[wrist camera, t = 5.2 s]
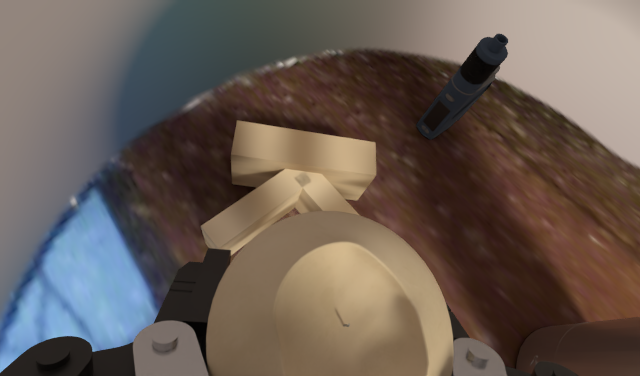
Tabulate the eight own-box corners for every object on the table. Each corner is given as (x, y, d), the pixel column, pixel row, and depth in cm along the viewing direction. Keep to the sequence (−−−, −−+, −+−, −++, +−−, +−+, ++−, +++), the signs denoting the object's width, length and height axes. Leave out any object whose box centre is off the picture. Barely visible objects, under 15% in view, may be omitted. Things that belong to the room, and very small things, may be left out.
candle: (376, 336, 16) (538, 310, 7) (294, 452, 14) (389, 620, 5) (286, 253, 17) (336, 139, 8) (194, 349, 15) (123, 336, 6)
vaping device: (410, 125, 37) (479, 32, 27) (442, 105, 39) (517, 11, 29) (427, 144, 37) (505, 56, 26) (458, 122, 39) (542, 32, 28)
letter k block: (369, 172, 34) (389, 144, 29) (371, 277, 30) (394, 262, 25) (223, 151, 32) (220, 117, 27) (201, 261, 27) (194, 242, 23)
